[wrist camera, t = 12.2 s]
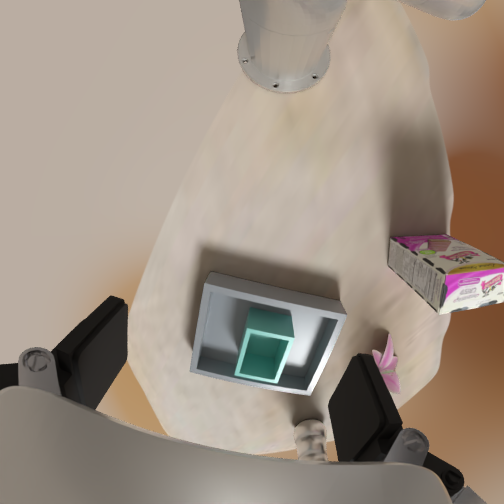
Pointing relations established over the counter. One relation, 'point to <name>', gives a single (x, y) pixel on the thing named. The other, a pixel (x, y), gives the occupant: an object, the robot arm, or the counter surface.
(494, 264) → the candy bar box
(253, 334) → the teal crate
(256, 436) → the counter surface
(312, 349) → the gray crate
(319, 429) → the silver ribbed bottle
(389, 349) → the lily
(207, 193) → the counter surface
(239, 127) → the counter surface
